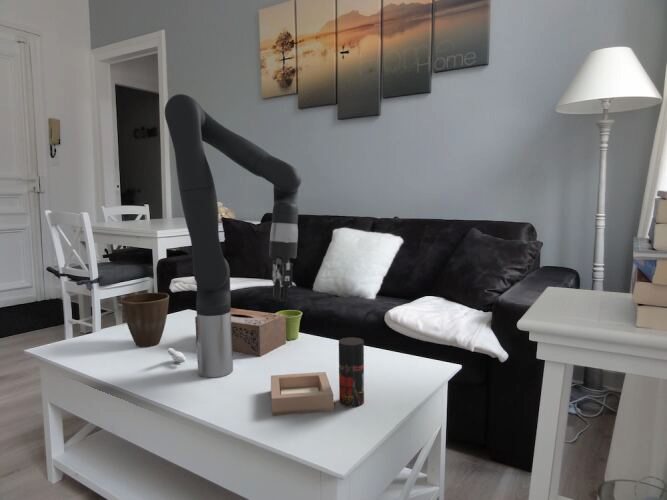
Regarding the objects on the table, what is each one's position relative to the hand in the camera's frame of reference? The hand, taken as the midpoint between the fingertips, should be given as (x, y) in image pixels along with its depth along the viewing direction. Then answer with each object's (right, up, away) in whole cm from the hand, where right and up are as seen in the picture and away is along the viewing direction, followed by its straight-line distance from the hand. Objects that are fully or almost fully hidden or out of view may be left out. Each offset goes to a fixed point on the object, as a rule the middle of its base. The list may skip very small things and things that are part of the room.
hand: (280, 299), depth 134 cm
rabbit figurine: (-31, -20, +10) cm, 39 cm away
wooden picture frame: (+7, -23, -16) cm, 28 cm away
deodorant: (+19, -23, -17) cm, 34 cm away
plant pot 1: (-47, -18, +30) cm, 59 cm away
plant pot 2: (-1, -17, +34) cm, 38 cm away
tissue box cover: (-16, -18, +28) cm, 37 cm away
